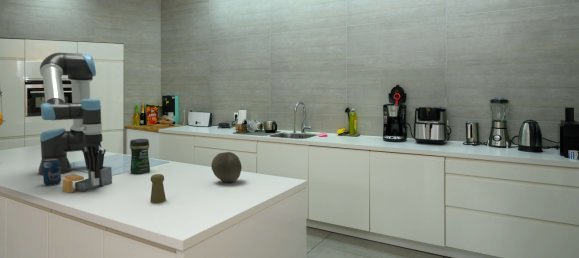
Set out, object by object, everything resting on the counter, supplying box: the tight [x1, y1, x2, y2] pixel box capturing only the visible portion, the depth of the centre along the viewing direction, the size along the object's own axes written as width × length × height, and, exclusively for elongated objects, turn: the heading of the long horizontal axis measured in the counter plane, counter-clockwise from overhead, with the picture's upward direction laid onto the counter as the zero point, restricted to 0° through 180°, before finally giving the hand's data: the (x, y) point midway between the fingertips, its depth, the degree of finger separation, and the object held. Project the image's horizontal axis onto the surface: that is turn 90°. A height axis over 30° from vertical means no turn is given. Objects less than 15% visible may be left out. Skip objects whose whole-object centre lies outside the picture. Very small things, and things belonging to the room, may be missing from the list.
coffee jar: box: [129, 138, 151, 175], centre depth 197 cm, size 10×8×19 cm
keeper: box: [61, 173, 85, 194], centre depth 162 cm, size 9×6×6 cm, turn 55°
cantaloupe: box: [210, 151, 243, 183], centre depth 177 cm, size 14×14×15 cm
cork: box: [150, 173, 167, 204], centre depth 147 cm, size 6×6×11 cm
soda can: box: [42, 158, 62, 187], centre depth 172 cm, size 7×7×12 cm
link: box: [74, 165, 113, 193], centre depth 168 cm, size 16×7×8 cm, turn 168°
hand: (95, 185), depth 164 cm, fingers closed
